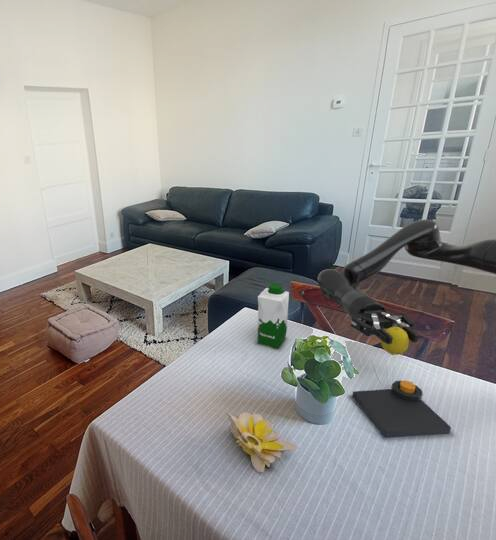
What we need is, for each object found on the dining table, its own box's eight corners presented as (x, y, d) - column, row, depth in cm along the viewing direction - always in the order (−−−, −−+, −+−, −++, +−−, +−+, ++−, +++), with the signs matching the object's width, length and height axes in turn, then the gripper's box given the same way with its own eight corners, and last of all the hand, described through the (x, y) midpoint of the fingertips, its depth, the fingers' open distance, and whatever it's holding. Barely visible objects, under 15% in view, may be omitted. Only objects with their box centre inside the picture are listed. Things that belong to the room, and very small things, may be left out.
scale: (408, 390, 89) (410, 379, 88) (453, 433, 76) (457, 421, 74) (350, 394, 90) (351, 384, 88) (385, 437, 77) (387, 425, 75)
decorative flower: (308, 467, 70) (298, 431, 67) (260, 490, 69) (248, 455, 66) (269, 418, 84) (259, 387, 81) (228, 437, 83) (217, 406, 80)
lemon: (411, 361, 82) (416, 333, 79) (385, 361, 83) (390, 333, 81) (398, 348, 87) (403, 321, 85) (374, 348, 88) (379, 321, 86)
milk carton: (288, 338, 116) (292, 285, 109) (280, 351, 110) (282, 296, 103) (263, 331, 122) (265, 281, 115) (253, 343, 116) (254, 291, 109)
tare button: (408, 385, 86) (409, 380, 86) (417, 393, 84) (418, 388, 83) (396, 386, 87) (397, 381, 86) (405, 394, 84) (406, 389, 83)
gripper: (337, 297, 96) (375, 329, 80) (389, 293, 95) (438, 324, 79) (334, 321, 98) (370, 355, 83) (385, 316, 97) (431, 350, 82)
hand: (403, 339), depth 81 cm, fingers closed on lemon, 5 cm apart
